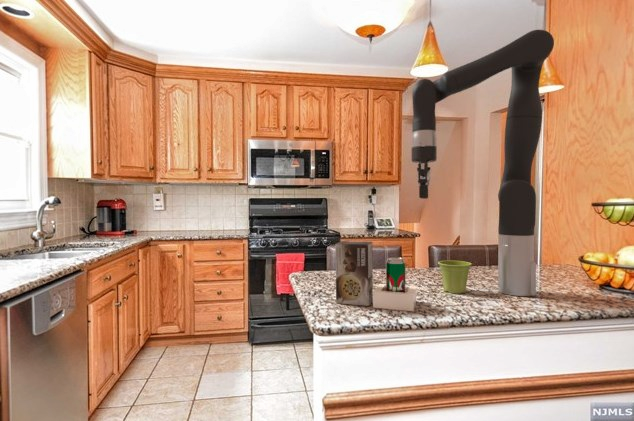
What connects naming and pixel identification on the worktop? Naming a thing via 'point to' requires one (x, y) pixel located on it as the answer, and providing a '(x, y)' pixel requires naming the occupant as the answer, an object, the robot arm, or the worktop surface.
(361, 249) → the coffee box
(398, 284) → the soda can
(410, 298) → the holder
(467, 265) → the plant pot
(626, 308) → the worktop surface
